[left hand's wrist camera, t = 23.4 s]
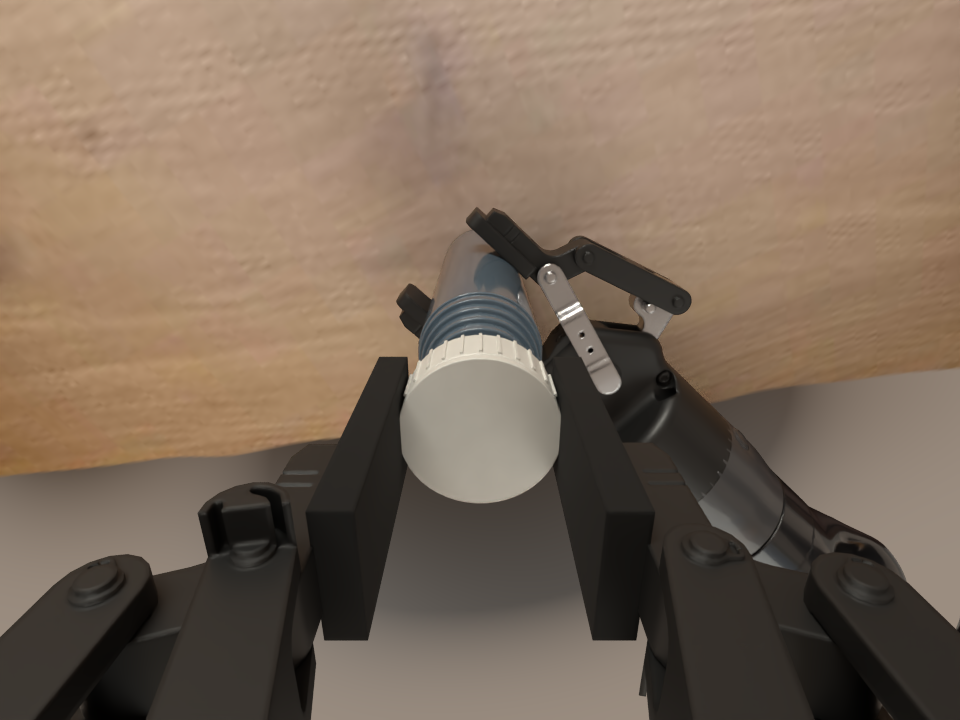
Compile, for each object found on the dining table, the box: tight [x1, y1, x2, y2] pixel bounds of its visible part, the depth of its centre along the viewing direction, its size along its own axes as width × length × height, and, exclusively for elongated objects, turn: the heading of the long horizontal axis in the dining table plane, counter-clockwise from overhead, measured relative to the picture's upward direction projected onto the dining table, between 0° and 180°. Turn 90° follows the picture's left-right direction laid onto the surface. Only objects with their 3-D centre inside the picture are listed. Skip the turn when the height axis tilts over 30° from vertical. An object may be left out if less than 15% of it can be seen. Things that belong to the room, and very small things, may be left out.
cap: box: [400, 333, 561, 503], centre depth 14 cm, size 4×4×2 cm
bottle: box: [418, 230, 542, 361], centre depth 23 cm, size 4×4×19 cm
